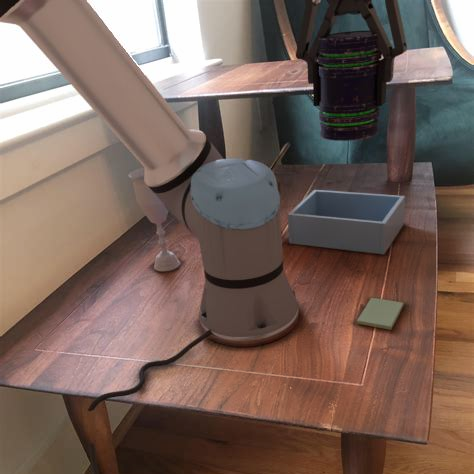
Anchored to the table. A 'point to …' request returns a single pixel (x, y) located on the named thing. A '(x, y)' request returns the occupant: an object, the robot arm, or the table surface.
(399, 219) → the open box
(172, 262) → the chalice
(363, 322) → the coaster
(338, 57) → the dark striped canister
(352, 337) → the table surface
